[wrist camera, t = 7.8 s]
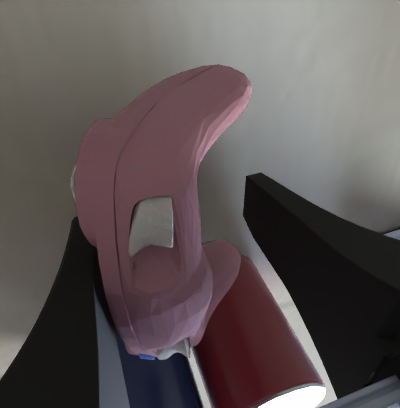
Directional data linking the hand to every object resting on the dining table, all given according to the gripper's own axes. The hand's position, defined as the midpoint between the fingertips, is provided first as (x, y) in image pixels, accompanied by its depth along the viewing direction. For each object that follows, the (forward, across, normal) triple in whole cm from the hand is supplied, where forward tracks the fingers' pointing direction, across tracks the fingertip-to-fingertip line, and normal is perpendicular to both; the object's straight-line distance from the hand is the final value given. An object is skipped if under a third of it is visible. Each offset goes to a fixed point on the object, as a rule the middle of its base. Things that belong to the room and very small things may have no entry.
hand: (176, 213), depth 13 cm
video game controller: (+2, 0, 0) cm, 2 cm away
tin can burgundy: (+4, -3, +12) cm, 13 cm away
